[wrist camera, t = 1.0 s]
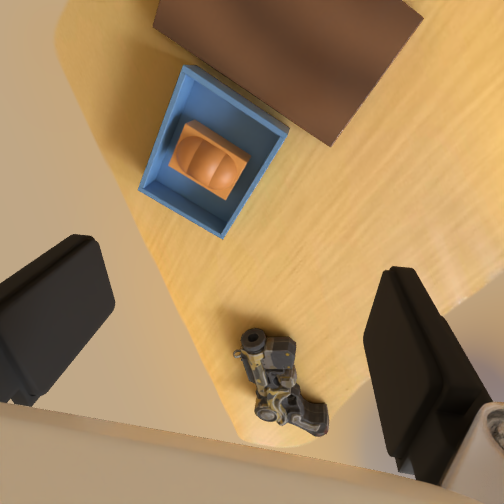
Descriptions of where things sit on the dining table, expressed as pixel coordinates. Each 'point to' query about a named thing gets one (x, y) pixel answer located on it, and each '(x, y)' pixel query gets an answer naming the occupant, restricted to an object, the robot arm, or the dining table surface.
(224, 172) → the bread
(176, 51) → the dining table surface
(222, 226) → the bin
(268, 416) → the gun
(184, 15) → the board
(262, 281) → the dining table surface
